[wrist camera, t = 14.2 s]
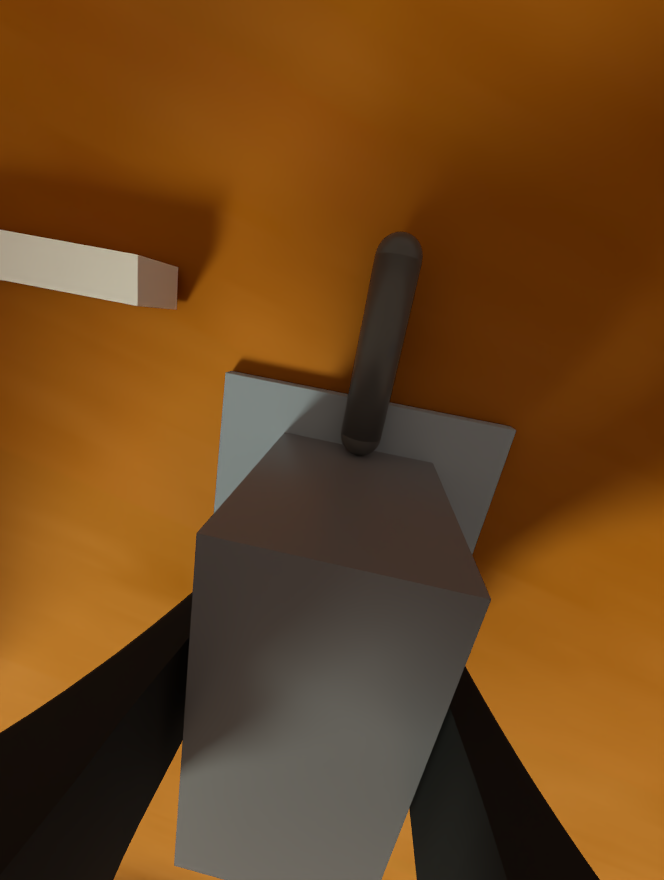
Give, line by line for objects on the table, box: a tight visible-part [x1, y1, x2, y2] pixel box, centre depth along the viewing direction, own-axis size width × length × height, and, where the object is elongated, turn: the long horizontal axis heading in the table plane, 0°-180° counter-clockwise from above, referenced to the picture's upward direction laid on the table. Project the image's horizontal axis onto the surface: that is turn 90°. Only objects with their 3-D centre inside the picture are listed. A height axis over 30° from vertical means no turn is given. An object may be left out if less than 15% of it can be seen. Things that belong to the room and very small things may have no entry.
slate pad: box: [214, 371, 516, 554], centre depth 11 cm, size 11×8×1 cm
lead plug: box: [174, 232, 491, 880], centre depth 8 cm, size 14×4×5 cm, turn 170°
